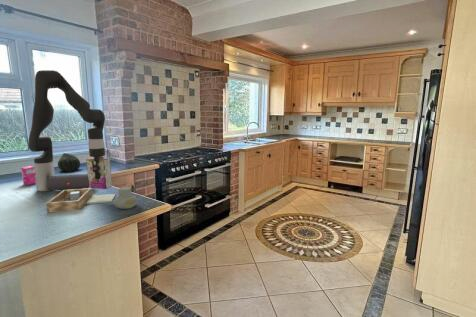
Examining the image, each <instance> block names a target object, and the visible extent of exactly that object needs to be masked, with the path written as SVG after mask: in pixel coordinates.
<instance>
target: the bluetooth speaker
mask: <svg viewBox="0 0 476 317" xmlns="http://www.w3.org/2000/svg"><path fill="white" fill-rule="evenodd" d="M47 188H48V190H50V191H60V192H62V191H63V190H72V189H89V183H88V173H75V174H73V173H72V174H60V175H59V174H58V175H55V176H50V177H48V178H47Z"/></svg>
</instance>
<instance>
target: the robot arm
mask: <svg viewBox="0 0 476 317" xmlns="http://www.w3.org/2000/svg"><path fill="white" fill-rule="evenodd" d="M34 76H35V78H34V104H33V110H32V119H31V120H32V121H31V128H30V132H29V136H28V142H27V143H28V146H27V147H28V148H29V149H28V150H30V151H31V152H33V153H37V152H42V153H41V154H40V155H38V156H35V157H34V159H33V161H34V167H35V172H36V175H35V183H36V184H35V188H36V189H35V190H36V192H49V191H51V190H48V188H47V178H48V177H50V176H56V174H55V166H54V155H53V154H54V151H53V150H54V149H53V141H52V138H51V136H49V135H41V134H42V132H43V131H44V130H45V129H46V128H47V127H49V126H50V124H51V123H52V122H53V118H54V112H55V108H54V107H53V105H52V103H51V101H50V100H49V98H48V92H49V90H50V89H59V90H61V91H62V92H63V93H64V95H65V100H66V102H67V103H68V104H69V105H70V107H72V108H73V109H74V110H76V111H77V113H78V115H79V116H80V117H81V118H82V120H83V121H85V122H86V123H88V124H92V126H91V127H89V128H88V129H87V138H88V142H87V143H88V153H89V154H88V155H89V158H92V157H94V161H92V167H93V172H94V173H95V179H100V166H98V163H99V159H100V158H105V157H104V156H106V146H105V140H104V132H103V131H104V127H105V121H106V115H105V112H103V110H101V109H97V108H96V109H93V108H92V109H91V108H90V107H91V105H90V103H89V101H88V100H86V99H85V98H83V97H82V96H81V95H80V94H79V93H78V92H77V91H76V90H75V89H74V87H72V85H71V84H70V83H69V82H68V81H67V79H65V77H64V76H63V75H62V74H61V73H60V72H59V71H57V70H55V69H54V70H52V69H51V70H50V69H49V70H48V69H47V70H46V69H45V70H38V71H37V72H36V74H35V75H34ZM96 168H97V170H96Z"/></svg>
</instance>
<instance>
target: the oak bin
mask: <svg viewBox="0 0 476 317" xmlns="http://www.w3.org/2000/svg"><path fill="white" fill-rule="evenodd" d="M77 191H80V198H79V199H78V200H76V201H71V200H69V201H68V200H67V201H66V200H65V199H71V197H70V193H71V192H77ZM92 196H93V193H92V188H84V189H72V190H63V191H60V192H58V193H57V194H56V195H55V196H54V197H52V198H51V199H50V200H48V201H47V202H46V203H45V204H46V205H45V206H46V212H47V213H53V212H54V213H55V212H66V211H67V212H69V211H79V210H81V208H83V206H84V205H85V204H87V201H88V200H89V199H90V198H91V197H92Z"/></svg>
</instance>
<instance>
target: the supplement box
mask: <svg viewBox="0 0 476 317" xmlns="http://www.w3.org/2000/svg"><path fill="white" fill-rule="evenodd" d="M20 171H21V178H22V183H23V185H26V186H34V185H36V183H35V175H36V170H35V166H31V165H29V166H23V167H20Z"/></svg>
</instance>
